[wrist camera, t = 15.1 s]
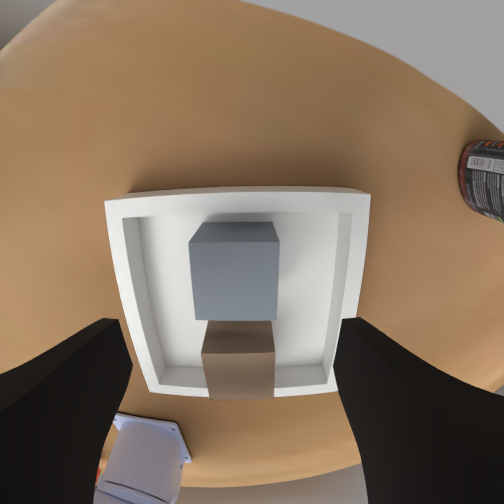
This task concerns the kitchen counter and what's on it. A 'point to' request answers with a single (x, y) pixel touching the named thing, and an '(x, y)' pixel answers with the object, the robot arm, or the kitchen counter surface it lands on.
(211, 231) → the slate block
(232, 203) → the tray
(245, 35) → the kitchen counter surface
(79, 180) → the kitchen counter surface
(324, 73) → the kitchen counter surface
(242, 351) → the walnut block
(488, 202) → the supplement bottle
